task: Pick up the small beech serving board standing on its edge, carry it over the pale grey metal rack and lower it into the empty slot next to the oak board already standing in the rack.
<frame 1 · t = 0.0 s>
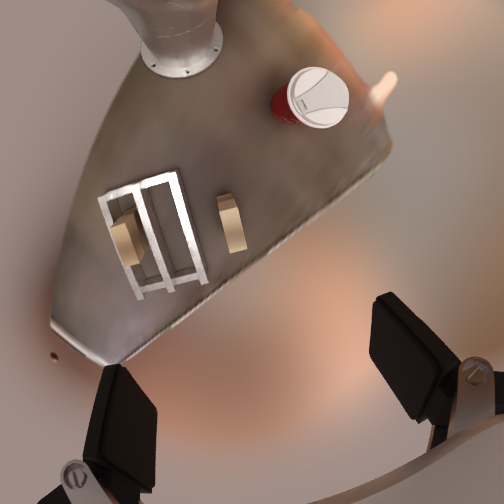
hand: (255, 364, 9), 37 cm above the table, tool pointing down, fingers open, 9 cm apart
beech board: (227, 212, 45), on the table
oak board: (138, 225, 43), resting in rack
rack: (157, 231, 44), on the table
paper cup: (287, 106, 39), on the table
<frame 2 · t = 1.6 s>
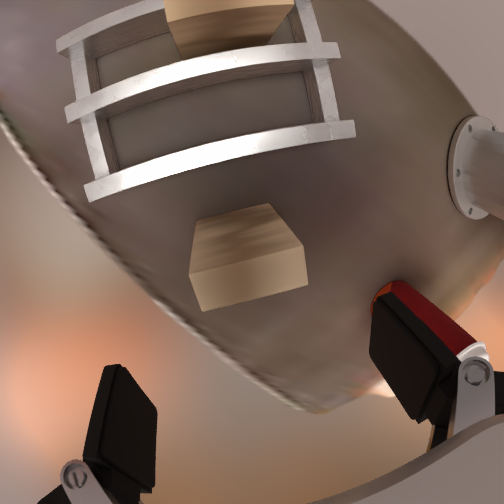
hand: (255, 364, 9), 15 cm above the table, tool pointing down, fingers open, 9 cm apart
beech board: (235, 225, 23), on the table
oak board: (220, 43, 16), resting in rack
rack: (201, 80, 18), on the table
paper cup: (390, 300, 29), on the table
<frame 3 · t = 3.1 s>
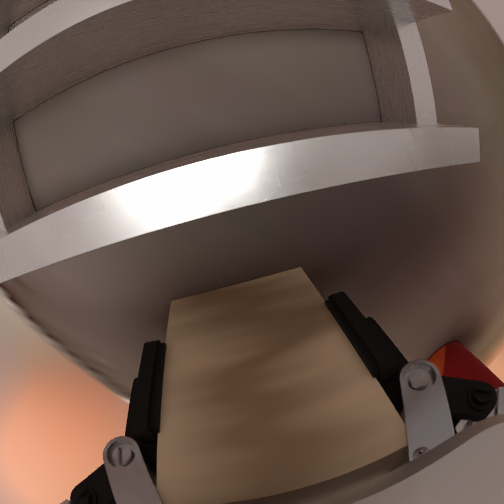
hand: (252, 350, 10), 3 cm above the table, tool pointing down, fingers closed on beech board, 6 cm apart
beech board: (241, 305, 13), on the table, touching gripper
rack: (174, 33, 8), on the table
paper cup: (436, 364, 19), on the table
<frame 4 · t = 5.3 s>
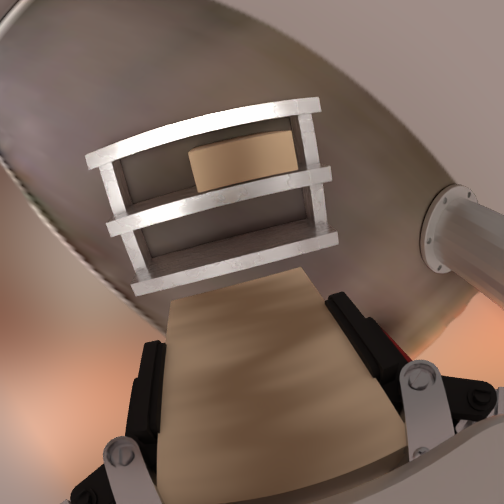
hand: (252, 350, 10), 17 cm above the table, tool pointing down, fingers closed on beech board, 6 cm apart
beech board: (241, 306, 13), point 14 cm above the table, touching gripper
oak board: (230, 152, 23), resting in rack
rack: (215, 187, 24), on the table
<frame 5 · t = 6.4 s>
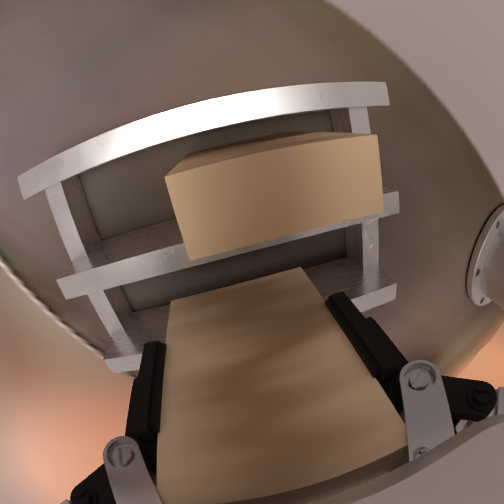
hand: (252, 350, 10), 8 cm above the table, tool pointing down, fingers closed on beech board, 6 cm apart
beech board: (241, 305, 13), point 5 cm above the table, touching gripper
oak board: (243, 161, 15), resting in rack
rack: (220, 215, 16), on the table
when the fingers open (6 cm above the table, at t = 7.4 s): beech board drops 3 cm, resting in rack.
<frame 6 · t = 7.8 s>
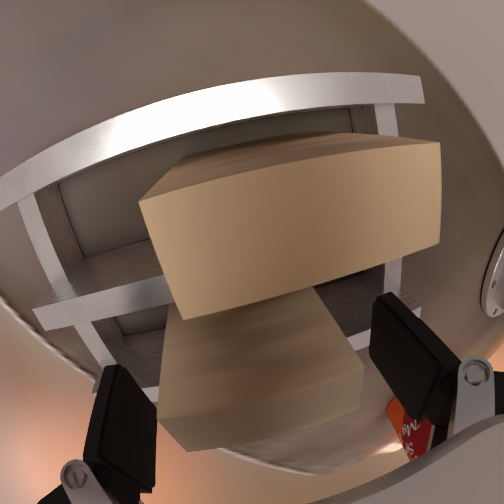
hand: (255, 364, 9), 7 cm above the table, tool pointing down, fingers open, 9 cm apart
beech board: (233, 277, 15), resting in rack
oak board: (249, 166, 13), resting in rack
rack: (222, 230, 14), on the table
paper cup: (405, 397, 26), on the table
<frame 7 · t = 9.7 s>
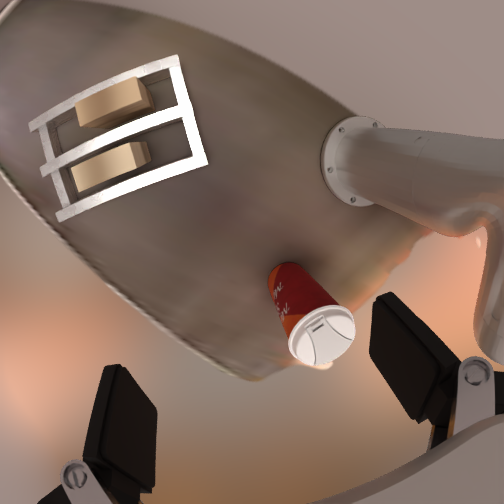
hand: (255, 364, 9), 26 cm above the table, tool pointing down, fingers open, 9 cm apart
beech board: (125, 159, 29), resting in rack
oak board: (128, 110, 27), resting in rack
rack: (119, 137, 28), on the table
paper cup: (286, 279, 40), on the table
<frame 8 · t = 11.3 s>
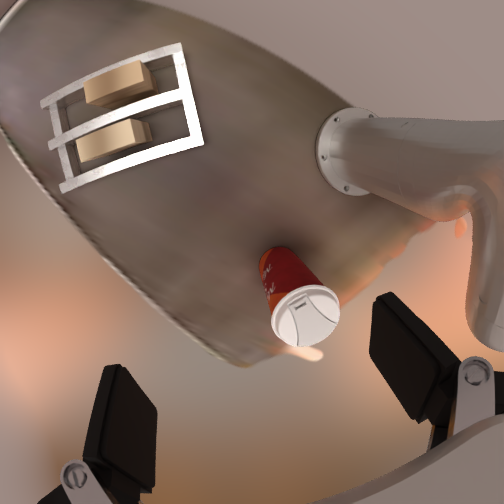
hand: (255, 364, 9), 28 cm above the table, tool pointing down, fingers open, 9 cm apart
beech board: (128, 139, 30), resting in rack
oak board: (134, 93, 28), resting in rack
rack: (123, 118, 29), on the table
paper cup: (277, 264, 41), on the table
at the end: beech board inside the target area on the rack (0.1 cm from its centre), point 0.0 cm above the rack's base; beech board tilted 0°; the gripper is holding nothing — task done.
